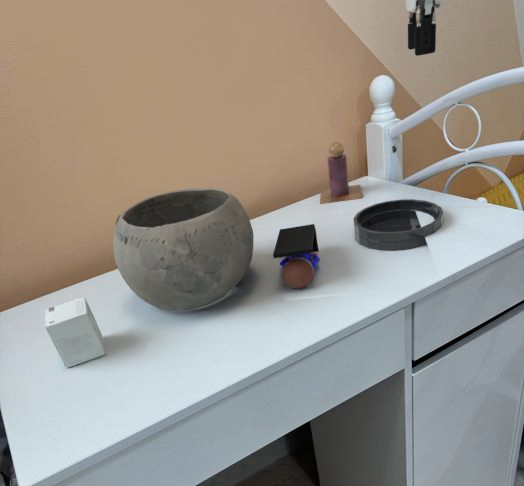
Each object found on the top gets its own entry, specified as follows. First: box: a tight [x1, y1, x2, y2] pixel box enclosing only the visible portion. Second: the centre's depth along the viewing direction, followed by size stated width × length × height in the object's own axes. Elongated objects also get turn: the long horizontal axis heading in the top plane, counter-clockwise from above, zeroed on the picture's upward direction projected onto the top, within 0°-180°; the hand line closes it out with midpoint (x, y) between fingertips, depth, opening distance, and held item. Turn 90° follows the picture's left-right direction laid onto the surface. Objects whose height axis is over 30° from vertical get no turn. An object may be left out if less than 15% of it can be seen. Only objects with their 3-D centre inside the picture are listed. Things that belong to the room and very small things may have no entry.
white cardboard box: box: [44, 296, 106, 369], centre depth 73 cm, size 6×6×7 cm
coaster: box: [319, 184, 363, 205], centre depth 110 cm, size 9×9×1 cm
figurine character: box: [272, 223, 320, 290], centre depth 82 cm, size 7×8×15 cm
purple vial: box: [327, 141, 350, 197], centre depth 107 cm, size 4×4×11 cm
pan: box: [353, 198, 445, 251], centre depth 88 cm, size 15×15×4 cm
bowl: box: [112, 187, 255, 311], centre depth 82 cm, size 23×23×15 cm
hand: (420, 50), depth 86 cm, fingers open, 9 cm apart
